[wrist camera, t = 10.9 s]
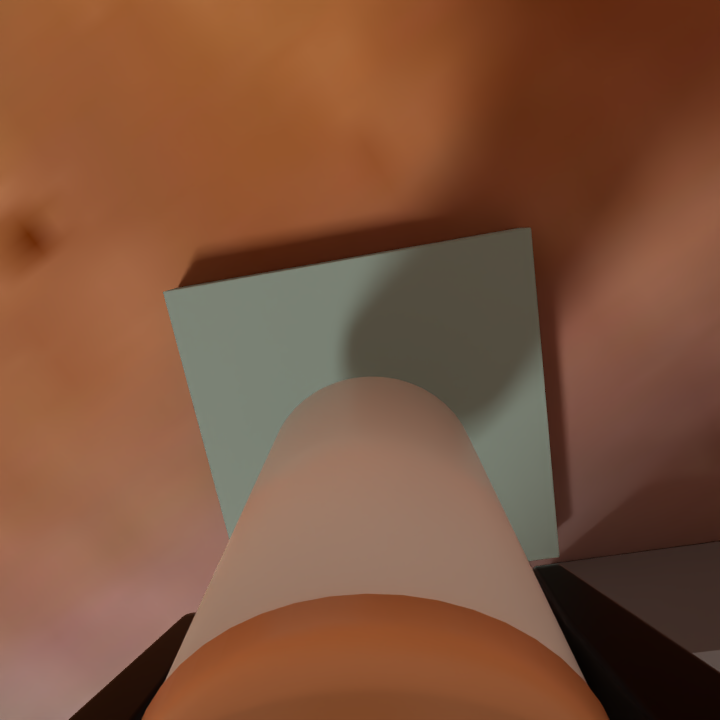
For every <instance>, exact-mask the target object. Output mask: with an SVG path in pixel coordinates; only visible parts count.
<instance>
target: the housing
mask: <svg viewBox="0 0 720 720" xmlns="http://www.w3.org/2000/svg"><path fill="white" fill-rule="evenodd" d="M554 564H560V565H562V566H563V567H565V568H566V569H568V570H569V571H571V572H572V573H574V574H575V575H577V576H578V577H580V578H581V579H583V580H584V581H586V582H587V583H589V584H590V585H592V586H593V587H595V588H596V589H598V590H599V591H600V592H602V593H603V594H605V595H606V596H608V597H609V598H611V599H612V600H614V601H615V602H617V603H618V604H620V605H621V606H623V607H624V608H626V609H627V610H629V611H630V612H632V613H633V614H635V615H636V616H638V617H639V618H640V619H642V620H643V621H645V622H646V623H648V624H649V625H651V626H652V627H654V628H655V629H657V630H658V631H660V632H661V633H663V634H664V635H666V636H667V637H669V638H670V639H672V640H673V641H675V642H676V643H677V644H679V645H680V646H682V647H683V648H685V649H686V650H688V651H689V652H691V653H692V654H694V655H695V656H697V657H698V658H700V659H701V660H703V661H704V662H706V663H707V664H709V665H710V666H712V667H713V668H715V669H716V670H717V671H719V672H720V541H719V542H712V543H704V544H697V545H689V546H682V547H674V548H667V549H659V550H652V551H644V552H637V553H629V554H622V555H614V556H607V557H599V558H592V559H584V560H577V561H569V562H562V563H554Z"/></svg>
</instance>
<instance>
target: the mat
mask: <svg viewBox="0 0 720 720" xmlns="http://www.w3.org/2000/svg"><path fill="white" fill-rule="evenodd" d="M163 294H164V297H165V301H166V305H167V309H168V312H169V316H170V320H171V324H172V327H173V331H174V335H175V338H176V342H177V346H178V350H179V353H180V357H181V361H182V365H183V368H184V372H185V376H186V379H187V383H188V387H189V391H190V394H191V398H192V402H193V406H194V409H195V413H196V417H197V420H198V424H199V428H200V432H201V435H202V439H203V443H204V447H205V450H206V454H207V458H208V461H209V465H210V469H211V473H212V476H213V480H214V484H215V488H216V491H217V495H218V499H219V502H220V506H221V510H222V514H223V517H224V521H225V525H226V529H227V532H228V536H229V540H230V537H231V535H232V533H233V531H234V529H235V526H236V524H237V522H238V520H239V518H240V516H241V513H242V511H243V509H244V507H245V505H246V502H247V500H248V498H249V496H250V494H251V491H252V489H253V487H254V485H255V483H256V481H257V478H258V476H259V474H260V472H261V470H262V467H263V465H264V463H265V461H266V459H267V456H268V454H269V452H270V450H271V448H272V446H273V443H274V441H275V439H276V437H277V435H278V432H279V430H280V428H281V427H282V425H283V424H284V422H285V420H286V419H287V418H288V416H289V415H290V414H291V413H292V411H293V410H294V409H295V408H296V407H297V406H298V405H299V404H300V403H302V402H303V401H304V400H305V399H306V398H308V397H309V396H311V395H312V394H313V393H315V392H317V391H318V390H320V389H322V388H324V387H326V386H328V385H331V384H334V383H336V382H339V381H343V380H347V379H351V378H358V377H368V376H370V377H387V378H393V379H398V380H402V381H405V382H408V383H411V384H414V385H416V386H418V387H420V388H423V389H424V390H426V391H428V392H429V393H431V394H433V395H434V396H436V397H437V398H438V399H440V400H441V401H442V402H443V403H445V404H446V405H447V406H448V407H449V409H450V410H451V411H452V412H453V413H454V414H455V415H456V417H457V418H458V419H459V421H460V422H461V423H462V425H463V427H464V429H465V431H466V433H467V435H468V437H469V439H470V441H471V443H472V445H473V447H474V449H475V451H476V453H477V455H478V457H479V459H480V461H481V464H482V466H483V468H484V470H485V472H486V474H487V476H488V478H489V480H490V482H491V484H492V486H493V489H494V491H495V493H496V495H497V497H498V499H499V501H500V503H501V505H502V507H503V509H504V511H505V514H506V516H507V518H508V520H509V522H510V524H511V526H512V528H513V530H514V532H515V534H516V536H517V539H518V541H519V543H520V545H521V547H522V549H523V551H524V553H525V555H526V557H527V559H528V561H533V560H541V559H548V558H556V557H559V546H558V535H557V523H556V512H555V500H554V488H553V477H552V465H551V454H550V442H549V431H548V419H547V408H546V396H545V385H544V373H543V361H542V350H541V338H540V327H539V315H538V304H537V292H536V281H535V269H534V257H533V246H532V234H531V228H516V229H510V230H504V231H499V232H493V233H487V234H482V235H476V236H470V237H464V238H459V239H453V240H447V241H442V242H436V243H430V244H424V245H419V246H413V247H407V248H402V249H396V250H390V251H385V252H379V253H373V254H367V255H362V256H356V257H350V258H345V259H339V260H333V261H327V262H322V263H316V264H310V265H305V266H299V267H293V268H288V269H282V270H276V271H270V272H265V273H259V274H253V275H248V276H242V277H236V278H230V279H225V280H219V281H213V282H208V283H202V284H196V285H191V286H185V287H179V288H175V289H171V290H168V291H165V292H163Z"/></svg>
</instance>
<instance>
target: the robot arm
mask: <svg viewBox="0 0 720 720" xmlns="http://www.w3.org/2000/svg"><path fill="white" fill-rule="evenodd" d="M533 572H534V574H535V576H536V578H537V580H538V582H539V584H540V586H541V589H542V591H543V593H544V595H545V597H546V599H547V601H548V603H549V605H550V607H551V609H552V611H553V614H554V616H555V618H556V620H557V622H558V624H559V626H560V628H561V630H562V632H563V634H564V636H565V639H566V641H567V643H568V645H569V647H570V649H571V651H572V653H573V655H574V657H575V659H576V661H577V663H578V666H579V668H580V670H581V672H582V674H583V676H584V678H585V680H586V682H587V684H588V686H589V688H590V689H591V690H592V692H593V693H594V694H595V696H596V697H597V698H598V700H599V701H600V702H601V704H602V706H603V708H604V710H605V712H606V713H607V715H608V717H609V719H610V720H720V672H719V671H717V670H716V669H715V668H713V667H712V666H710V665H709V664H707V663H706V662H704V661H703V660H701V659H700V658H698V657H697V656H695V655H694V654H692V653H691V652H689V651H688V650H686V649H685V648H683V647H682V646H680V645H679V644H677V643H676V642H675V641H673V640H672V639H670V638H669V637H667V636H666V635H664V634H663V633H661V632H660V631H658V630H657V629H655V628H654V627H652V626H651V625H649V624H648V623H646V622H645V621H643V620H642V619H640V618H639V617H638V616H636V615H635V614H633V613H632V612H630V611H629V610H627V609H626V608H624V607H623V606H621V605H620V604H618V603H617V602H615V601H614V600H612V599H611V598H609V597H608V596H606V595H605V594H603V593H602V592H600V591H599V590H598V589H596V588H595V587H593V586H592V585H590V584H589V583H587V582H586V581H584V580H583V579H581V578H580V577H578V576H577V575H575V574H574V573H572V572H571V571H569V570H568V569H566V568H565V567H563V566H562V565H560V564H550V565H542V566H536V567H534V568H533ZM195 614H196V612H195V613H189V614H186V615H185V616H183V617H182V618H181V619H180V620H179V621H178V622H176V623H175V624H174V625H173V626H172V627H171V628H170V629H169V630H168V631H166V632H165V633H164V634H163V635H162V636H161V637H160V638H159V639H158V640H156V641H155V642H154V643H153V644H152V645H151V646H150V647H149V648H148V649H146V650H145V651H144V652H143V653H142V654H141V655H140V656H139V657H138V658H136V659H135V660H134V661H133V662H132V663H131V664H130V665H129V666H128V667H126V668H125V669H124V670H123V671H122V672H121V673H120V674H119V675H118V676H116V677H115V678H114V679H113V680H112V681H111V682H110V683H109V684H108V685H106V686H105V687H104V688H103V689H102V690H101V691H100V692H99V693H98V694H96V695H95V696H94V697H93V698H92V699H91V700H90V701H89V702H88V703H86V704H85V705H84V706H83V707H82V708H81V709H80V710H79V711H78V712H76V713H75V714H74V715H73V716H72V717H71V718H70V719H69V720H142V717H143V715H144V713H145V711H146V709H147V707H148V706H149V704H150V703H151V701H152V700H153V698H154V696H155V695H156V693H157V692H158V690H159V689H160V687H161V686H162V684H163V683H164V682H165V680H166V677H167V675H168V673H169V671H170V669H171V666H172V664H173V662H174V660H175V658H176V656H177V653H178V651H179V649H180V647H181V645H182V642H183V640H184V638H185V636H186V634H187V631H188V629H189V627H190V625H191V623H192V621H193V618H194V616H195Z"/></svg>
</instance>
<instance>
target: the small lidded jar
mask: <svg viewBox="0 0 720 720" xmlns="http://www.w3.org/2000/svg"><path fill="white" fill-rule="evenodd" d="M142 720H610V719H609V717H608V715H607V713H606V712H605V710H604V708H603V706H602V704H601V702H600V701H599V700H598V698H597V697H596V696H595V694H594V693H593V692H592V690H591V689H590V688H589V686H588V684H587V682H586V680H585V678H584V676H583V674H582V672H581V670H580V668H579V666H578V663H577V661H576V659H575V657H574V655H573V653H572V651H571V649H570V647H569V645H568V643H567V641H566V639H565V636H564V634H563V632H562V630H561V628H560V626H559V624H558V622H557V620H556V618H555V616H554V614H553V611H552V609H551V607H550V605H549V603H548V601H547V599H546V597H545V595H544V593H543V591H542V589H541V586H540V584H539V582H538V580H537V578H536V576H535V574H534V572H533V570H532V568H531V566H530V564H529V561H528V559H527V557H526V555H525V553H524V551H523V549H522V547H521V545H520V543H519V541H518V539H517V536H516V534H515V532H514V530H513V528H512V526H511V524H510V522H509V520H508V518H507V516H506V514H505V511H504V509H503V507H502V505H501V503H500V501H499V499H498V497H497V495H496V493H495V491H494V489H493V486H492V484H491V482H490V480H489V478H488V476H487V474H486V472H485V470H484V468H483V466H482V464H481V461H480V459H479V457H478V455H477V453H476V451H475V449H474V447H473V445H472V443H471V441H470V439H469V437H468V435H467V433H466V431H465V429H464V427H463V425H462V423H461V422H460V421H459V419H458V418H457V417H456V415H455V414H454V413H453V412H452V411H451V410H450V409H449V407H448V406H447V405H446V404H445V403H443V402H442V401H441V400H440V399H438V398H437V397H436V396H434V395H433V394H431V393H429V392H428V391H426V390H424V389H423V388H420V387H418V386H416V385H414V384H411V383H408V382H405V381H402V380H398V379H393V378H387V377H370V376H368V377H358V378H351V379H347V380H343V381H339V382H336V383H334V384H331V385H328V386H326V387H324V388H322V389H320V390H318V391H317V392H315V393H313V394H312V395H311V396H309V397H308V398H306V399H305V400H304V401H303V402H302V403H300V404H299V405H298V406H297V407H296V408H295V409H294V410H293V411H292V413H291V414H290V415H289V416H288V418H287V419H286V420H285V422H284V424H283V425H282V427H281V428H280V430H279V432H278V435H277V437H276V439H275V441H274V443H273V446H272V448H271V450H270V452H269V454H268V456H267V459H266V461H265V463H264V465H263V467H262V470H261V472H260V474H259V476H258V478H257V481H256V483H255V485H254V487H253V489H252V491H251V494H250V496H249V498H248V500H247V502H246V505H245V507H244V509H243V511H242V513H241V516H240V518H239V520H238V522H237V524H236V526H235V529H234V531H233V533H232V535H231V537H230V540H229V542H228V544H227V546H226V548H225V551H224V553H223V555H222V557H221V559H220V561H219V564H218V566H217V568H216V570H215V572H214V575H213V577H212V579H211V581H210V583H209V586H208V588H207V590H206V592H205V594H204V596H203V599H202V601H201V603H200V605H199V607H198V610H197V612H196V614H195V616H194V618H193V621H192V623H191V625H190V627H189V629H188V631H187V634H186V636H185V638H184V640H183V642H182V645H181V647H180V649H179V651H178V653H177V656H176V658H175V660H174V662H173V664H172V666H171V669H170V671H169V673H168V675H167V677H166V680H165V682H164V683H163V684H162V686H161V687H160V689H159V690H158V692H157V693H156V695H155V696H154V698H153V700H152V701H151V703H150V704H149V706H148V707H147V709H146V711H145V713H144V715H143V717H142Z"/></svg>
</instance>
